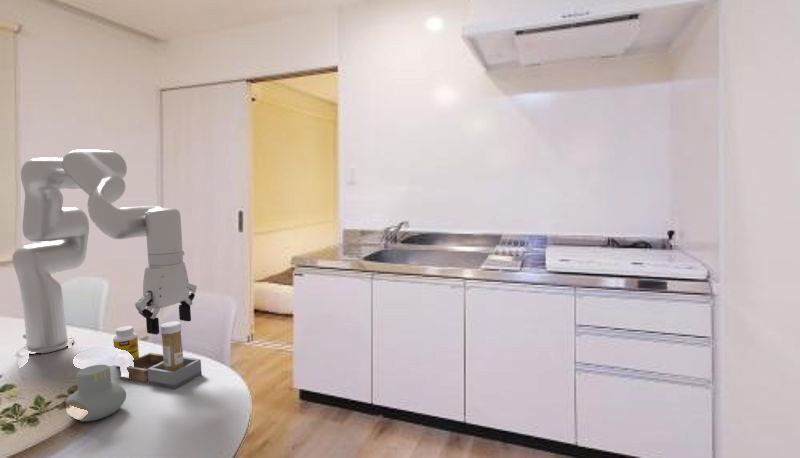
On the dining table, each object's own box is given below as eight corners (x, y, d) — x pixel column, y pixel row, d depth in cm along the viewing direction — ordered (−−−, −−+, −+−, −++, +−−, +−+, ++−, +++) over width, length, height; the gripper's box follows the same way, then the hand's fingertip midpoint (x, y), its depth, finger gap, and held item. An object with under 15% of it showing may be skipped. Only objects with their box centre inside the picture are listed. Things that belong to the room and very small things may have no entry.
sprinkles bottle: (186, 376, 111) (182, 324, 109) (165, 381, 108) (161, 328, 107) (183, 369, 115) (179, 319, 113) (163, 374, 112) (159, 323, 110)
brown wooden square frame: (120, 377, 113) (119, 366, 113) (150, 363, 121) (150, 352, 121) (147, 382, 110) (146, 370, 110) (176, 367, 118) (175, 356, 118)
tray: (148, 384, 109) (147, 368, 108) (176, 370, 117) (175, 355, 116) (175, 389, 106) (174, 373, 106) (201, 374, 114) (200, 359, 114)
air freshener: (133, 408, 98) (129, 365, 96) (97, 429, 90) (92, 382, 89) (98, 400, 101) (94, 358, 100) (60, 419, 94) (55, 374, 92)
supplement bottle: (118, 370, 117) (114, 333, 116) (113, 364, 121) (110, 328, 120) (142, 364, 121) (138, 328, 120) (136, 358, 125) (133, 323, 124)
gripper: (181, 251, 117) (185, 314, 119) (121, 264, 101) (127, 337, 103) (204, 253, 115) (207, 317, 117) (146, 267, 98) (151, 341, 101)
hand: (169, 326), depth 110 cm, fingers open, 9 cm apart
